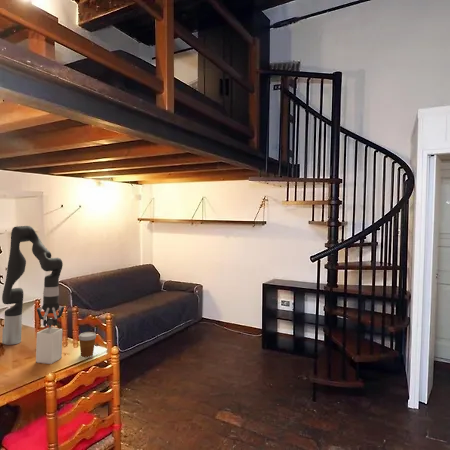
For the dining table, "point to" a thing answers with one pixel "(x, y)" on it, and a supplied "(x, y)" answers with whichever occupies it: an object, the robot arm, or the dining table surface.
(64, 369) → the dining table surface
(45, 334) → the grey rectangular box
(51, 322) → the plunger
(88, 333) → the disposable coffee cup
